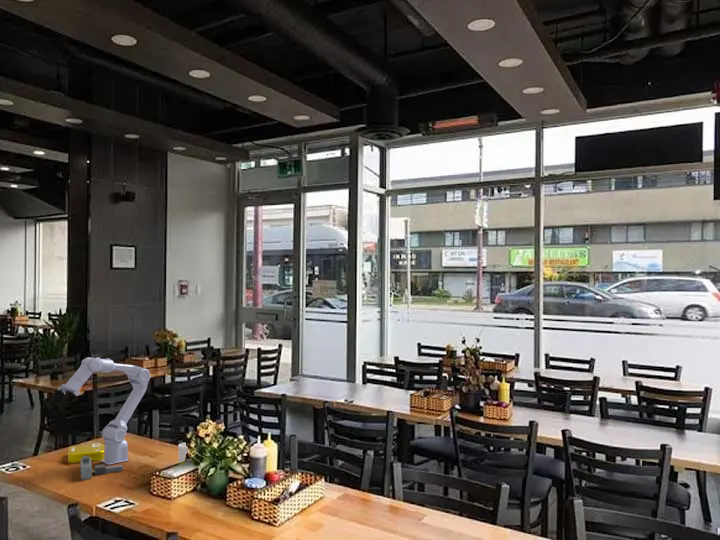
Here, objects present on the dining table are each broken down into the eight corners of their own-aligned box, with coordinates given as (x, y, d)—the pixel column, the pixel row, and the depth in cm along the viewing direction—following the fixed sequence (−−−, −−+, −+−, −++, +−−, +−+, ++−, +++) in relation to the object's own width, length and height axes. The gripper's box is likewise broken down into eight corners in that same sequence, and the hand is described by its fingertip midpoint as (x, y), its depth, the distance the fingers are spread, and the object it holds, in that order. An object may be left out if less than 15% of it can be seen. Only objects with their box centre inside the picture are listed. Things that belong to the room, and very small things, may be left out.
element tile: (68, 455, 277) (68, 445, 277) (103, 451, 283) (103, 441, 283) (67, 464, 263) (68, 453, 264) (104, 460, 270) (104, 450, 270)
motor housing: (90, 469, 256) (90, 455, 256) (91, 478, 245) (92, 463, 245) (80, 471, 254) (80, 456, 254) (81, 479, 243) (81, 464, 243)
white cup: (185, 471, 256) (185, 448, 256) (174, 467, 261) (174, 444, 261) (199, 466, 262) (200, 444, 262) (188, 463, 267) (189, 441, 267)
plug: (122, 469, 258) (122, 462, 258) (122, 471, 254) (123, 464, 254) (92, 472, 252) (92, 465, 252) (92, 475, 249) (92, 468, 249)
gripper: (61, 374, 255) (39, 400, 247) (79, 376, 246) (56, 403, 238) (73, 383, 259) (51, 409, 251) (91, 386, 250) (69, 413, 242)
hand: (54, 407), depth 245 cm, fingers open, 7 cm apart
